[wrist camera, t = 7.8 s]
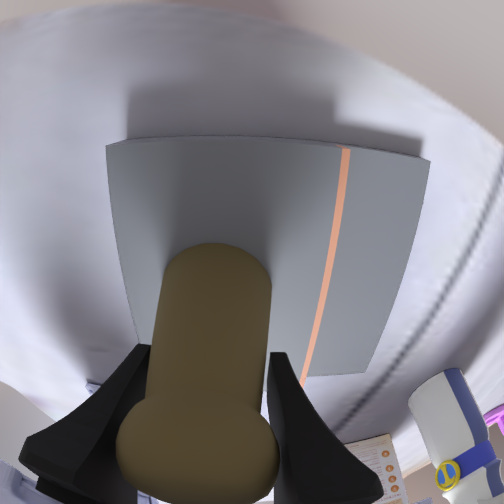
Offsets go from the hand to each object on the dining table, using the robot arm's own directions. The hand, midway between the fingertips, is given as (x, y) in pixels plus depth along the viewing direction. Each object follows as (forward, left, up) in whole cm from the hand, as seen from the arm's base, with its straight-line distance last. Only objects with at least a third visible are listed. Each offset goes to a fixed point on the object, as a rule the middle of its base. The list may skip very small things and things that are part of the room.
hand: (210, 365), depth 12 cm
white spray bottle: (-16, -24, -8) cm, 30 cm away
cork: (0, 0, -5) cm, 5 cm away
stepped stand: (0, -3, -7) cm, 8 cm away
